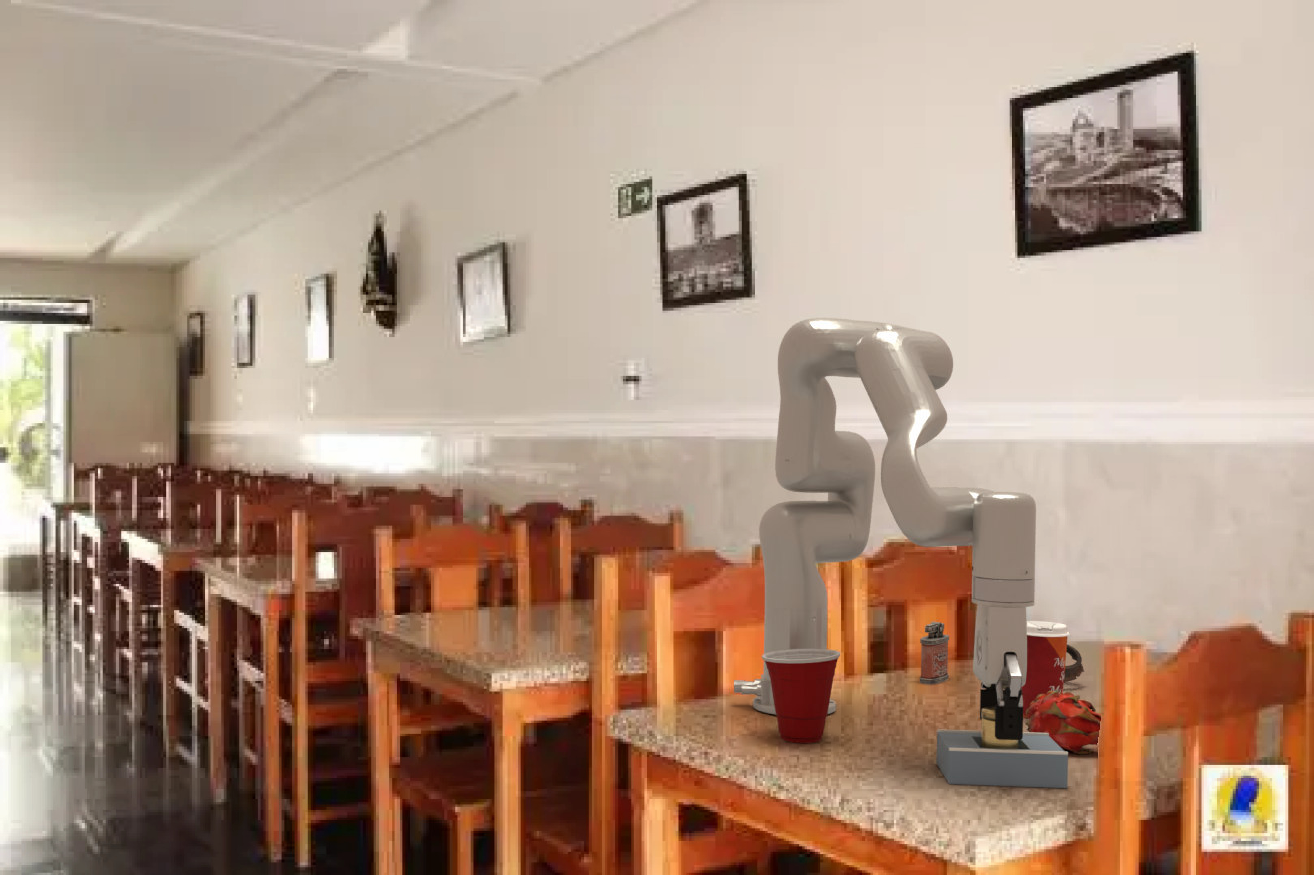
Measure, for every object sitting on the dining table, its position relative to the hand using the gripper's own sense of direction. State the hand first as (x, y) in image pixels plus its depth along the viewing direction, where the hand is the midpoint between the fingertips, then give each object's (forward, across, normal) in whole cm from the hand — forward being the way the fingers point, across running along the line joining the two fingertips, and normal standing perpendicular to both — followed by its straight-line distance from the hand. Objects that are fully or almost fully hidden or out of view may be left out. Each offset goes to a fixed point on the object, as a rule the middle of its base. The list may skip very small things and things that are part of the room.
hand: (1000, 729), depth 159 cm
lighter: (+6, -62, +1) cm, 62 cm away
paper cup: (+6, -35, +13) cm, 38 cm away
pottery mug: (+6, -62, +20) cm, 66 cm away
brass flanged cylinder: (+6, 0, 0) cm, 6 cm away
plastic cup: (+6, -16, -24) cm, 29 cm away
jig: (+6, 0, 0) cm, 6 cm away
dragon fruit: (+6, -15, +12) cm, 20 cm away
